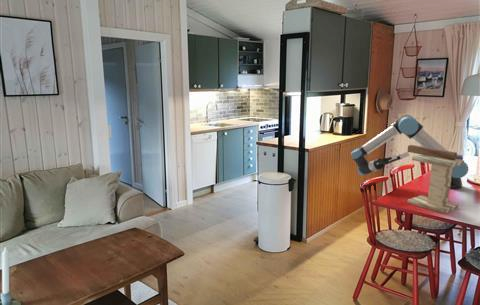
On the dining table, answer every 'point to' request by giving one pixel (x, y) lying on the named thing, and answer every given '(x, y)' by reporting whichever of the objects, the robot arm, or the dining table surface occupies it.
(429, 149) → the brown block
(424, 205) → the shelf stand
